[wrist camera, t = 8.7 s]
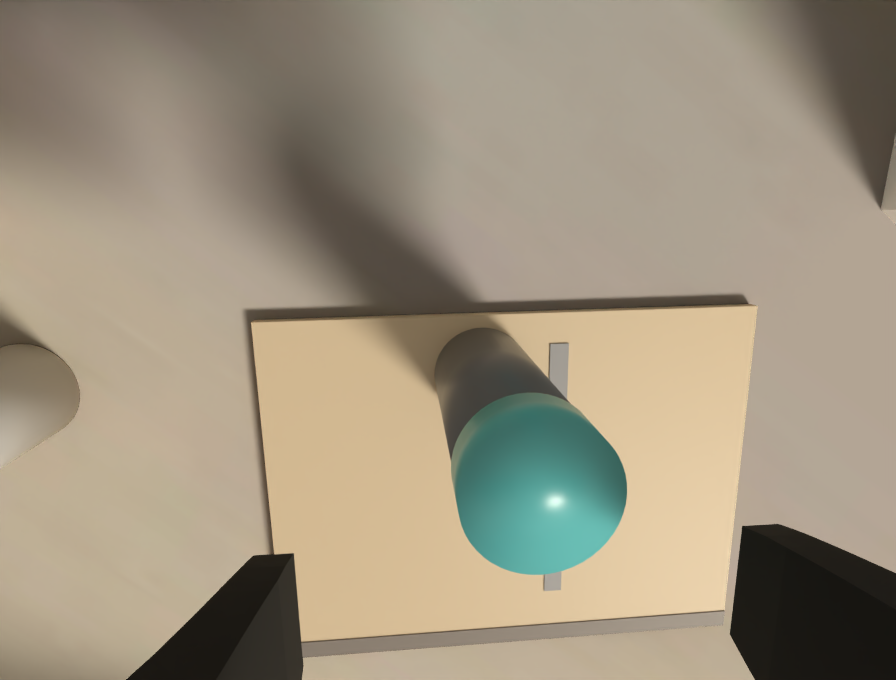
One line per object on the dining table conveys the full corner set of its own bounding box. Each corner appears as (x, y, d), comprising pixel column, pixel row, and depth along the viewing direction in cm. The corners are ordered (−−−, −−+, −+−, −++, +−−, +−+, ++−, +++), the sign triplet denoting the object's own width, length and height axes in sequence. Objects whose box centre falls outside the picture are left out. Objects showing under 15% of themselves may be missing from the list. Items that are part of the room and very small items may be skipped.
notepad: (716, 616, 21) (723, 625, 21) (286, 649, 20) (284, 659, 20) (750, 303, 18) (758, 306, 18) (254, 319, 17) (250, 323, 17)
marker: (528, 417, 18) (622, 569, 11) (434, 421, 18) (458, 580, 10) (530, 324, 18) (631, 413, 10) (431, 327, 17) (456, 422, 10)
